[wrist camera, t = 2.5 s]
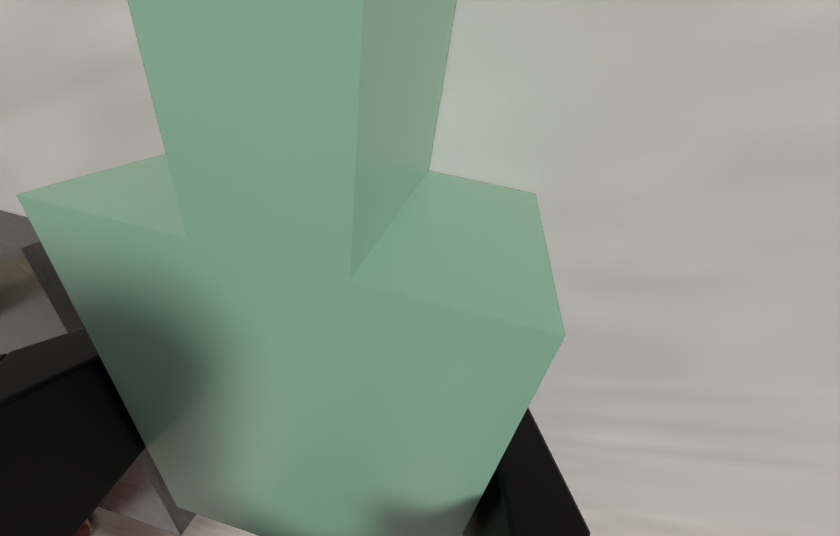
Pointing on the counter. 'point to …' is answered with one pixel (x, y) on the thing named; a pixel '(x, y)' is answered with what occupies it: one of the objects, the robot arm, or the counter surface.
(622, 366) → the counter surface
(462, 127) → the counter surface
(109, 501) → the plate
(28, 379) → the robot arm
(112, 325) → the mint green pegged block
